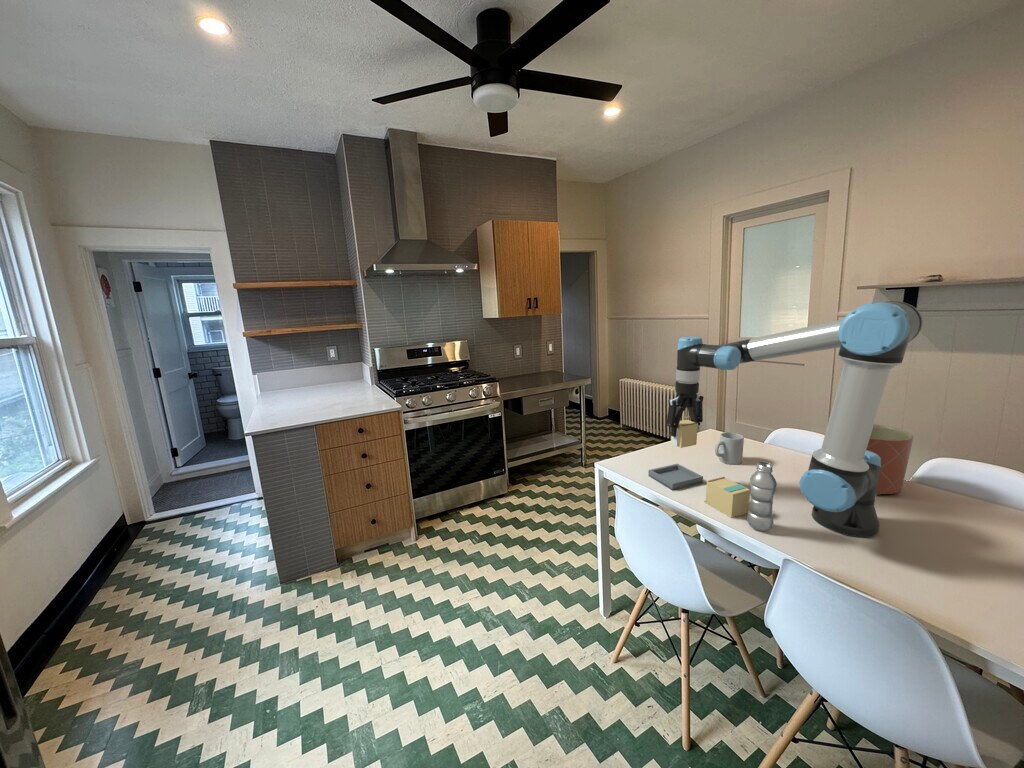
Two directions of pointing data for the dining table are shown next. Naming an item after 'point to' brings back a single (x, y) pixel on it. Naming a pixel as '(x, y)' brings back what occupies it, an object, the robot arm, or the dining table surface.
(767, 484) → the plastic bottle
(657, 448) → the dining table surface
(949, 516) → the dining table surface
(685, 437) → the plain tan block
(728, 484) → the tan teal-banded block
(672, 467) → the tray
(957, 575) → the dining table surface
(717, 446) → the mug
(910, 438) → the planter
